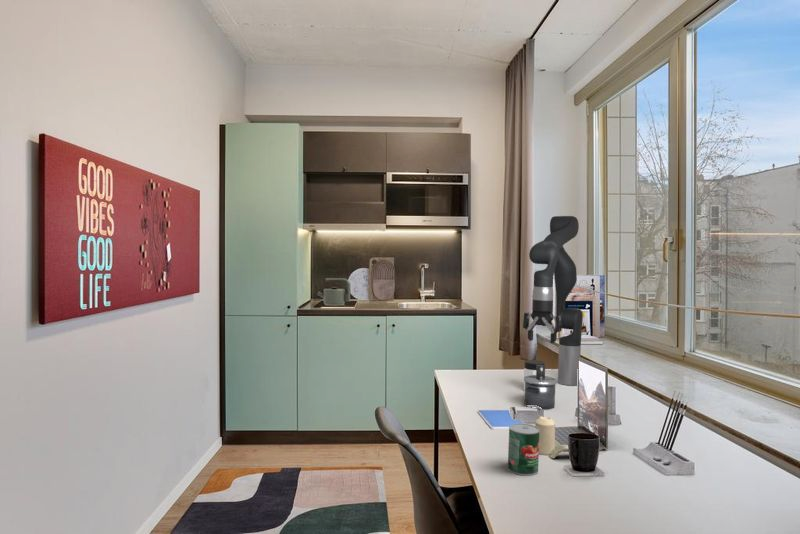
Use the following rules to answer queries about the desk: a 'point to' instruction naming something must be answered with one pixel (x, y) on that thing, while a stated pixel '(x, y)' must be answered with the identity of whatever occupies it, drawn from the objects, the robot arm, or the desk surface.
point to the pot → (540, 396)
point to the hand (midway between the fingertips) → (541, 341)
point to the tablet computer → (498, 418)
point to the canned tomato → (523, 449)
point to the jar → (531, 368)
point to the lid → (540, 377)
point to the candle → (546, 435)
